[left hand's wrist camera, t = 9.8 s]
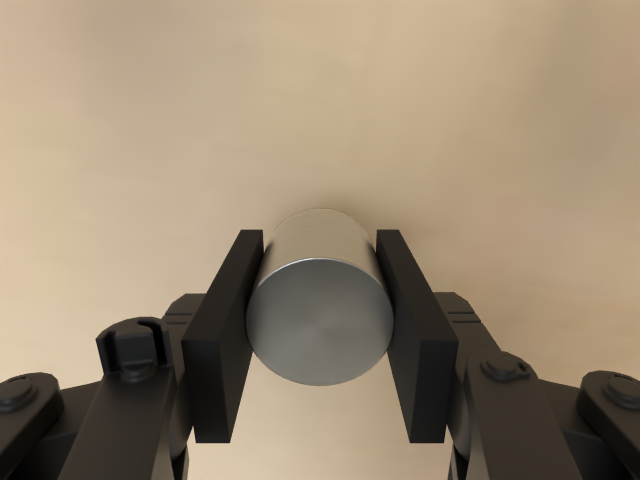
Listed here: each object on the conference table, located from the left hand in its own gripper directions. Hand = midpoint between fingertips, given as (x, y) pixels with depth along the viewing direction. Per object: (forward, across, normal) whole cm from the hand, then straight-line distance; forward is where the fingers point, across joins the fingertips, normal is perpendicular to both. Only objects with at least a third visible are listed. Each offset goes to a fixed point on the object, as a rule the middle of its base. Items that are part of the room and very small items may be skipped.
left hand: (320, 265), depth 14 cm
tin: (0, 0, 0) cm, 0 cm away
